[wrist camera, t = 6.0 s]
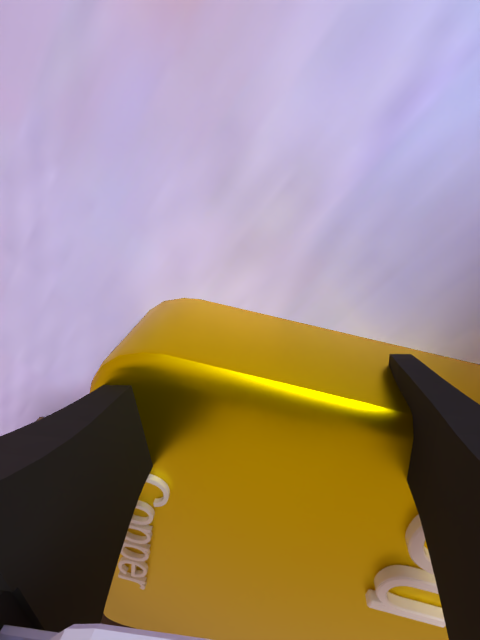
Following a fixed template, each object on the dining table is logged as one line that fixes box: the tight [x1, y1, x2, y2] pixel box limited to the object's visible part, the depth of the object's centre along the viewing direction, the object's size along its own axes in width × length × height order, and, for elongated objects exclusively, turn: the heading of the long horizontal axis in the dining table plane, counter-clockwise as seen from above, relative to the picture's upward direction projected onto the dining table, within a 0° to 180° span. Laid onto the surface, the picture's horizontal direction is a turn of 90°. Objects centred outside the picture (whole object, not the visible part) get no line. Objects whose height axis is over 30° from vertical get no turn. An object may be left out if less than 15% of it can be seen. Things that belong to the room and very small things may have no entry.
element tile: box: [90, 298, 480, 640], centre depth 14 cm, size 15×15×5 cm
